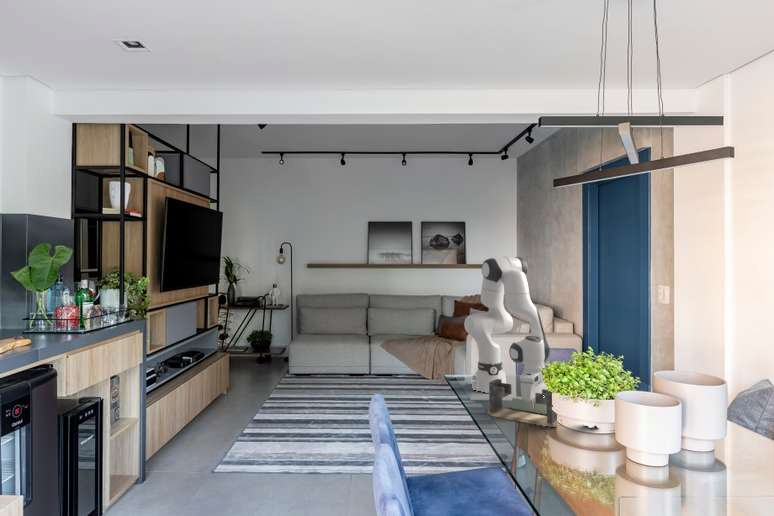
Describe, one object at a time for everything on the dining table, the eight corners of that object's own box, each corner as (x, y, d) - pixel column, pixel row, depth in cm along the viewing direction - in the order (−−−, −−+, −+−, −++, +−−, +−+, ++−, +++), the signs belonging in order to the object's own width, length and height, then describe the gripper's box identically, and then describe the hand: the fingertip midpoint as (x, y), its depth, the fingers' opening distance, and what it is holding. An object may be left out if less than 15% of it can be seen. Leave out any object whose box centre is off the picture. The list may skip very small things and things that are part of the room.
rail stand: (487, 415, 212) (486, 382, 212) (496, 410, 218) (495, 378, 218) (554, 428, 193) (553, 392, 193) (562, 422, 199) (561, 387, 199)
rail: (512, 409, 220) (512, 397, 220) (515, 407, 222) (515, 396, 222) (557, 417, 207) (557, 405, 207) (560, 415, 210) (559, 403, 210)
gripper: (537, 368, 225) (538, 399, 225) (517, 378, 209) (518, 411, 209) (551, 370, 221) (552, 401, 221) (531, 380, 205) (532, 413, 205)
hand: (535, 406), depth 215 cm, fingers open, 6 cm apart
